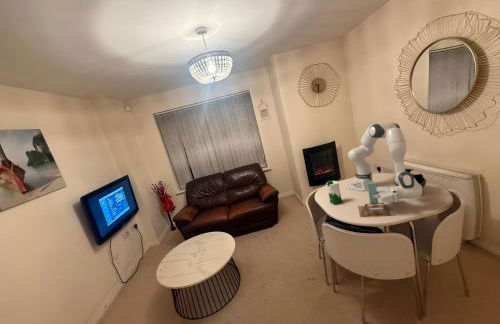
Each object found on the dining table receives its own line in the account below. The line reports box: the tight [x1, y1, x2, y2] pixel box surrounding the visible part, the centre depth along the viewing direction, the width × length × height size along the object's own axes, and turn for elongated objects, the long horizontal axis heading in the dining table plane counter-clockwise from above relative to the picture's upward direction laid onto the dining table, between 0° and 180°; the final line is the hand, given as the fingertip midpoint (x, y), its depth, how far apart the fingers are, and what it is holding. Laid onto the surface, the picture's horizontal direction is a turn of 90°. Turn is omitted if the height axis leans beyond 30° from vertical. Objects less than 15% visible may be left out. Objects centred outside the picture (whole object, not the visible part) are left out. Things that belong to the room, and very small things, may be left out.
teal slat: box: [367, 181, 380, 204], centre depth 158 cm, size 5×2×20 cm, turn 68°
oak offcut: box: [367, 203, 384, 209], centre depth 156 cm, size 10×2×5 cm, turn 68°
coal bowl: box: [394, 168, 427, 189], centre depth 171 cm, size 20×20×19 cm
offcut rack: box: [357, 202, 398, 218], centre depth 157 cm, size 22×18×4 cm
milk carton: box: [325, 180, 343, 206], centre depth 186 cm, size 9×9×20 cm
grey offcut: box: [370, 207, 383, 211], centre depth 153 cm, size 8×2×4 cm, turn 68°
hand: (371, 194), depth 158 cm, fingers open, 3 cm apart
